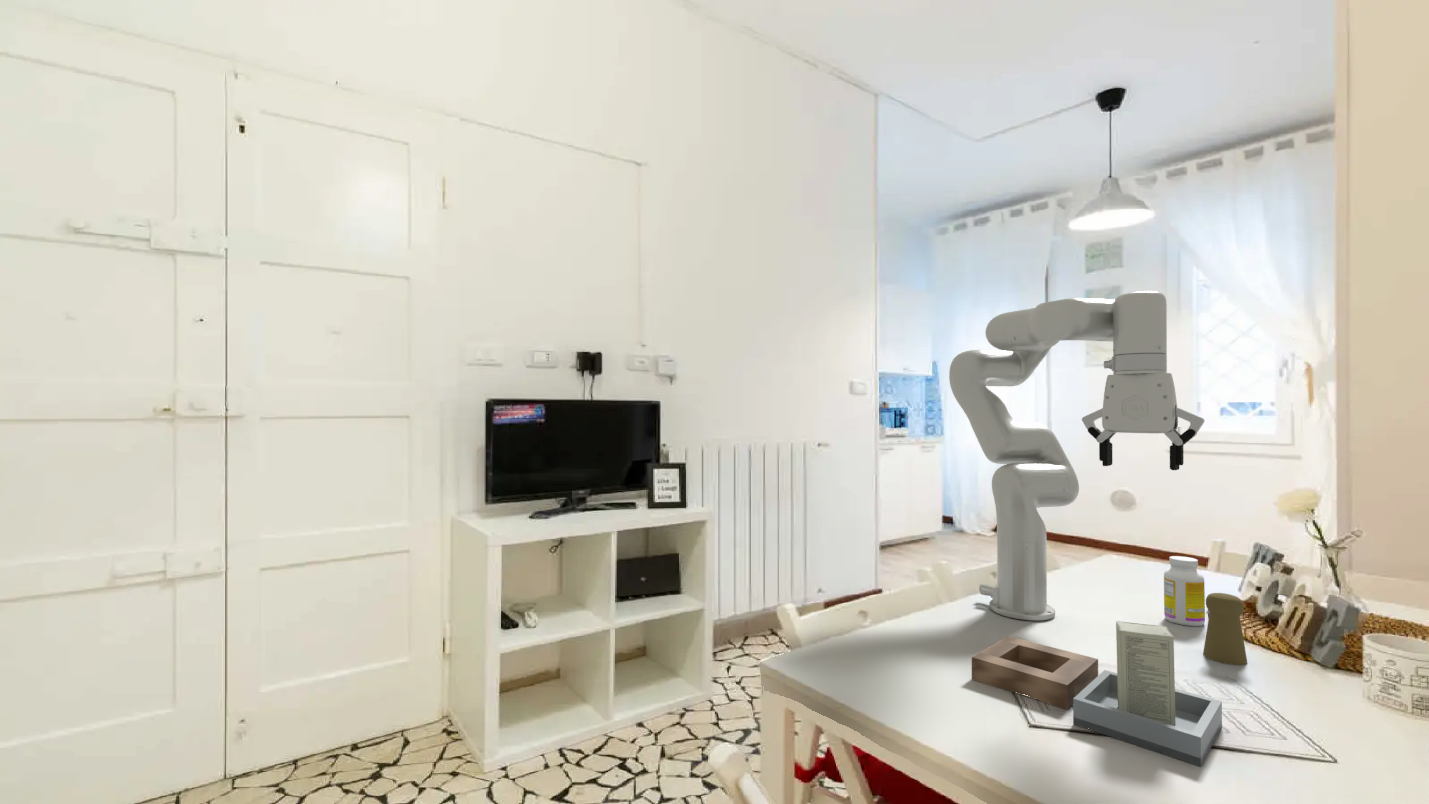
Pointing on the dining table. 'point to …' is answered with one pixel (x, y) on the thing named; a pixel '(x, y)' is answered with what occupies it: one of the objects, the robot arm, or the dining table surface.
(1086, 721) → the tray
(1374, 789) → the dining table surface
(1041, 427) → the robot arm
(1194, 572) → the supplement bottle
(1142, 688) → the skincare box
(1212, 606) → the cork
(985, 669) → the frame
